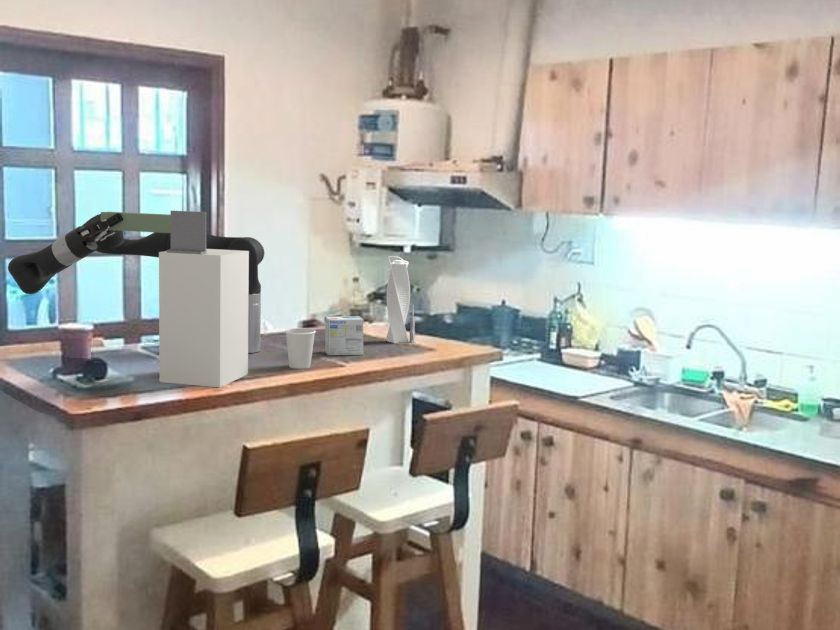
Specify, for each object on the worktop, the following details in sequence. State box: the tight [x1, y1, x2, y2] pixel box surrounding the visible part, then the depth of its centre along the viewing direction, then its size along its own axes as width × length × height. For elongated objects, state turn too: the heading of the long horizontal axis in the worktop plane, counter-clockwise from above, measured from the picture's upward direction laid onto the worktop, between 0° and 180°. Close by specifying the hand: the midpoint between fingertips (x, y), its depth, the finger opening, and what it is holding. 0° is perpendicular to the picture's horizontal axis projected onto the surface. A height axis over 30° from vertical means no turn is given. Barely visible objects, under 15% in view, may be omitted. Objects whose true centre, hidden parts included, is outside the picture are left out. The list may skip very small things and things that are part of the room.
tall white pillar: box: [158, 249, 249, 388], centre depth 237 cm, size 17×16×32 cm
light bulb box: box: [324, 315, 364, 356], centre depth 280 cm, size 11×7×11 cm, turn 105°
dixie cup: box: [284, 327, 317, 370], centre depth 257 cm, size 8×8×10 cm
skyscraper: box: [385, 255, 416, 346], centre depth 301 cm, size 8×8×28 cm
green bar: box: [100, 211, 171, 233], centre depth 244 cm, size 4×24×4 cm, turn 77°
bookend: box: [167, 210, 207, 254], centre depth 228 cm, size 3×9×10 cm, turn 77°
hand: (125, 216), depth 245 cm, fingers closed on green bar, 4 cm apart
